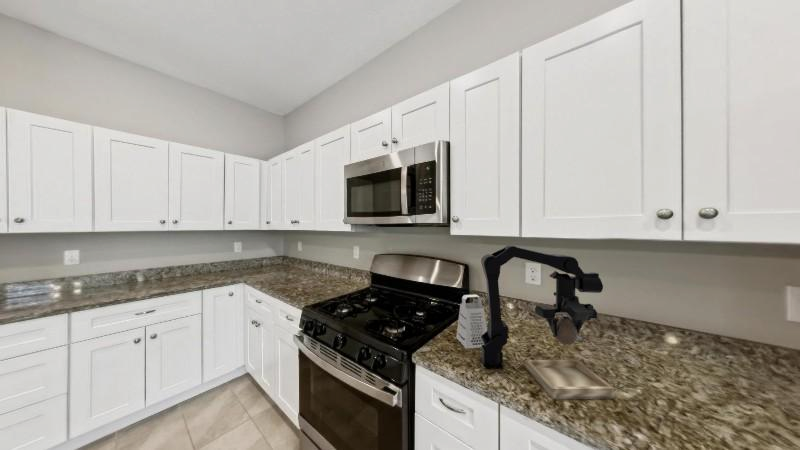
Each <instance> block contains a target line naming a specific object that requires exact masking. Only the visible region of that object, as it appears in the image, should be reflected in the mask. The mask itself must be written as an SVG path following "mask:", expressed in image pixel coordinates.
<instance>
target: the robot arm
mask: <svg viewBox="0 0 800 450" xmlns="http://www.w3.org/2000/svg"><path fill="white" fill-rule="evenodd" d="M513 258H516V259H521V260H526V261H530V262H534V263H538V264H543V265H546V266H548V267H551V268H554V269H555V270H554V271H553V272H552V273H551V274H549V275H548V276H549V277H550V278H552V279H554V280H555V292H554V291H553V296H555V303H553V307H554V308H552V307H550V306H549V305H544V304H543V305H539V304H537V305H536V306H535V308H534V313H535V314H536V315H538V316H540V317H541V318H543V319H545V320H546V321H547V323H548V326H549V328H550V330H551V332H552V335H553V337H555V338H556V336H557V322H558V321H559V320H560V319H559V318H557V315H563V314H569V315H570V316H571V318H572V323H573V324H574V325H575V327H576V329H577V335H578V336H579V333H580V331H581V330H582V329H581V328H582V327H583V325H584V324H585V323H586V322H587V321H591V319H598V312H597V310H596V308H594V306H593V304H591V303H581V304H580V300H579V299H580V298H579V296H577V295H576V290H577V291H578V292H579V293H589V294H590V293H591V294H593V293H594V294H600V293H602V292H603V289H604V285H603V281H602V280H601V278H600V275H599V272H584V271H583V270H582V268H581V267H580V266H579V261H578V260H577V259H576V257H573V256H569V255H565V254H559V253H558V254H555V253H543V252H539V251H535V250H530V249H527V248H526V249H525V248H521V247H517V246H515V245H511V244H509V245H506V246H505V247H503V248H501V249H499V250H496V251H495V252H492V253H491V254H490V253H489V254H484V255H483V256H482V257H481V260H480V265H481V267H482V270H483V273H484V277H485V280H486V281H485V282H486V293H487V303H488V304H487V305H488V316H489V317H488V322H487V332H485V333H484V334H482V336H481V338H482V342H483V343H484V345H482V344H483V343H482V344H481V345H482V347H481V357H480V358H479V359H480V360H479V361H480V362H481V363H482V365H483V367H484V368H485V370H486V369H487V370H488V369H491V370H492V369H494V370H495V369H497V370H498V369H500V370H501V369H504V368H505V367H504V365H503V364H504V353H503V351H502V350H503V348H504V347H505V345H507V344H508V339H510V336H509V326H508V325H507V322H506V321H505V320H503V318H502V311H501V309H502V308H501V299H500V287H499V285H500V284H499V278H500V276H501V268H502V266H503V265H505V264H507V263H508V262H509V261H510V260H512V259H513ZM556 270H558V271H560V273H559V272H558V271H556ZM561 272H563V273H561ZM569 274H570V275H571V276H570V275H569ZM481 338H480V339H481Z"/></svg>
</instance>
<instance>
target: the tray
mask: <svg viewBox="0 0 800 450" xmlns="http://www.w3.org/2000/svg"><path fill="white" fill-rule="evenodd" d="M525 369H526V371H527V372H528V373H529V374H530V376H532V377H533V378H534V380H535V381H536V382H537V384H538V385H539V386H540V387H541V388H542V389H543V390H544V391H545V393H547V395H548V396H549V397H550V398H551V399H552V400H615V399H616V393H615V392H616V388H614V387H613V386H612V385H611V384H610V383H608V382H607V381H606V380H604V379H603V378H602V377H600V376H599V375H598V374H596V373H595V372H594V371H593V370H591V369H590V368H589V367H588V366H586V365H585V364H583V363H582V362H581V361H579V360H578V359H525Z"/></svg>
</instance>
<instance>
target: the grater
mask: <svg viewBox="0 0 800 450" xmlns="http://www.w3.org/2000/svg"><path fill="white" fill-rule="evenodd" d="M468 298H477V302H467V303H466V300H467V299H468ZM482 303H483V300H482V298H481V296H479V295H478V294H464V295H463V296H462V297H461V303H460V306H459V314H458V320H457V329H456V330H457V331H456V337H455V338H456V339H457V340H458V342H459V343H460V342H461V343H460V344H461V345H462V346H463V347H464V348H465V349H466V350H467V349H476V348H478V349H479V348H482V345H484V343H483V340H482V338H481V336H482V335H483V334H484V333H485V332H487V327H488V325H487V320H486V314H485V313H486V312H485V308H484V306H483V304H482Z"/></svg>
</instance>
